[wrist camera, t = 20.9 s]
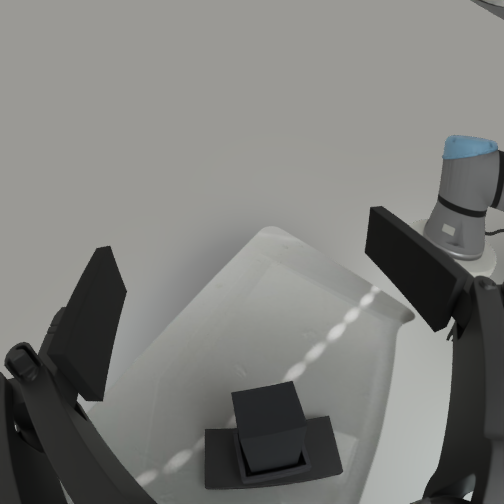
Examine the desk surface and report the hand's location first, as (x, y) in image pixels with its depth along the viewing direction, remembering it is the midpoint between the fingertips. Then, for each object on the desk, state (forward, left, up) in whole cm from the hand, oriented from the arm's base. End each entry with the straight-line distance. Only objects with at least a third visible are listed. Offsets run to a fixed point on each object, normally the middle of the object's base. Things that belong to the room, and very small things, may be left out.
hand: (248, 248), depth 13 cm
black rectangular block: (0, +4, -19) cm, 19 cm away
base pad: (0, +4, -20) cm, 20 cm away
